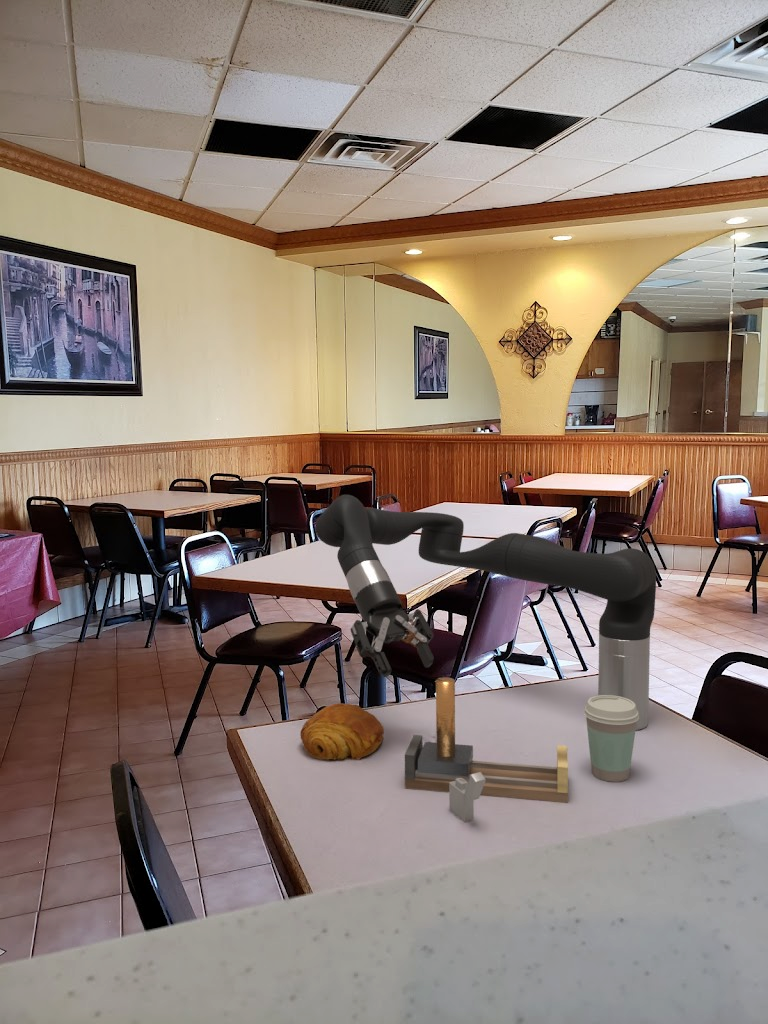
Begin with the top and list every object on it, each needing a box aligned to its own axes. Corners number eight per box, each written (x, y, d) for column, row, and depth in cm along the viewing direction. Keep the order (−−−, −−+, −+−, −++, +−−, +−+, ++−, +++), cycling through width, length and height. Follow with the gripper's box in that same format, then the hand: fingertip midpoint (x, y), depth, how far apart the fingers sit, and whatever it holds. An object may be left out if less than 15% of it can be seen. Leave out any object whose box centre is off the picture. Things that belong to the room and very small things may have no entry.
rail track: (413, 766, 126) (413, 734, 126) (566, 778, 121) (566, 745, 120) (405, 788, 118) (404, 754, 118) (567, 802, 113) (567, 767, 112)
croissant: (289, 765, 133) (282, 724, 131) (334, 723, 146) (329, 685, 144) (359, 780, 126) (353, 737, 124) (400, 734, 139) (396, 694, 137)
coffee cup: (638, 766, 125) (639, 696, 124) (637, 789, 117) (639, 715, 116) (585, 759, 128) (586, 691, 126) (581, 782, 120) (582, 709, 118)
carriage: (425, 753, 125) (424, 672, 124) (473, 757, 123) (472, 674, 122) (417, 772, 118) (416, 686, 117) (468, 776, 117) (468, 689, 115)
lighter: (448, 809, 112) (448, 758, 111) (458, 807, 112) (458, 756, 112) (476, 832, 105) (475, 777, 104) (486, 828, 106) (486, 775, 105)
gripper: (398, 597, 141) (434, 672, 133) (331, 608, 134) (365, 688, 126) (413, 574, 136) (452, 651, 128) (345, 584, 129) (381, 666, 121)
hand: (409, 669), depth 127 cm, fingers open, 8 cm apart
